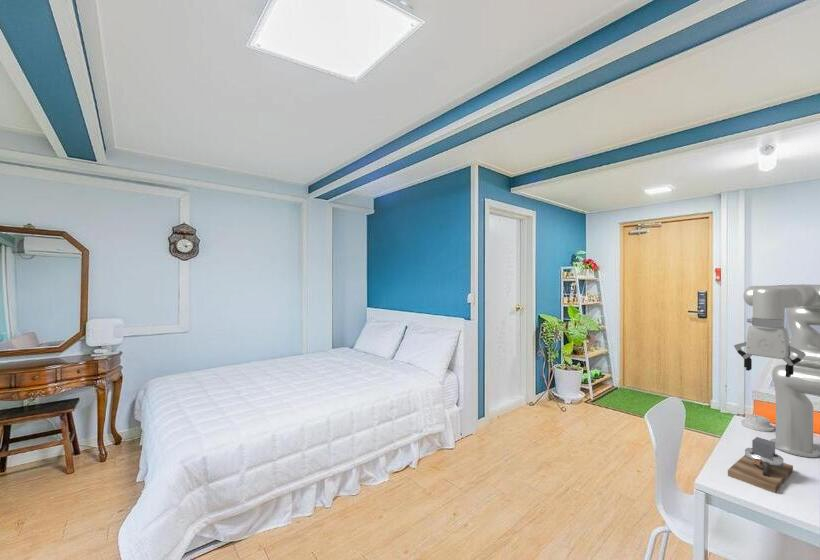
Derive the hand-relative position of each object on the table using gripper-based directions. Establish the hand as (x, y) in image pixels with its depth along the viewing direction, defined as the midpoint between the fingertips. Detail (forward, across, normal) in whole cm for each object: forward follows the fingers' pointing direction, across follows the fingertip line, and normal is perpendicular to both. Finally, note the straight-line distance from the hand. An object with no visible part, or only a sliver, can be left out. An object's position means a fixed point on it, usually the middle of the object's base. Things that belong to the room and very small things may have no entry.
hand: (767, 373), depth 119 cm
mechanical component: (+33, -11, +39) cm, 52 cm away
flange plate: (+27, 0, -8) cm, 29 cm away
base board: (+32, 0, -8) cm, 33 cm away
